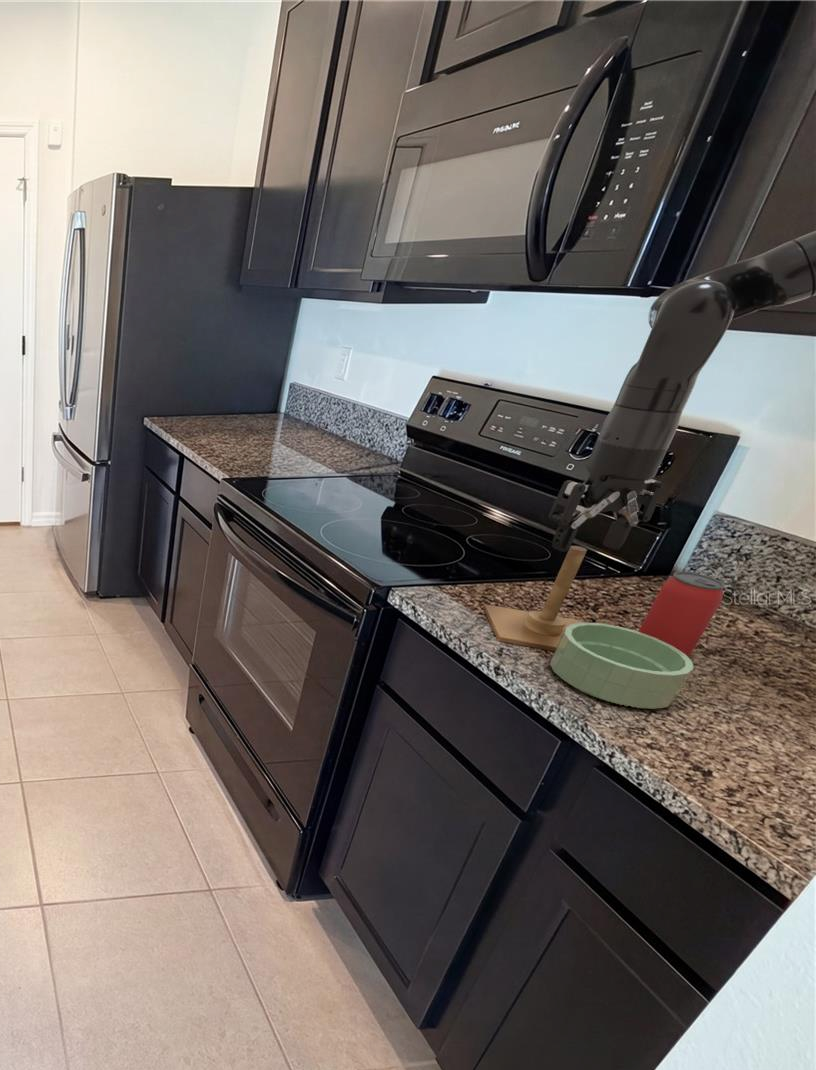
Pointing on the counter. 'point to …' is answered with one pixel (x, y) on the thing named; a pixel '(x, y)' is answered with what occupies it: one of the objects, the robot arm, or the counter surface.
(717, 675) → the counter surface
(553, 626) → the muddler
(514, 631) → the plate
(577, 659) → the bowl
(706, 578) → the beer can
